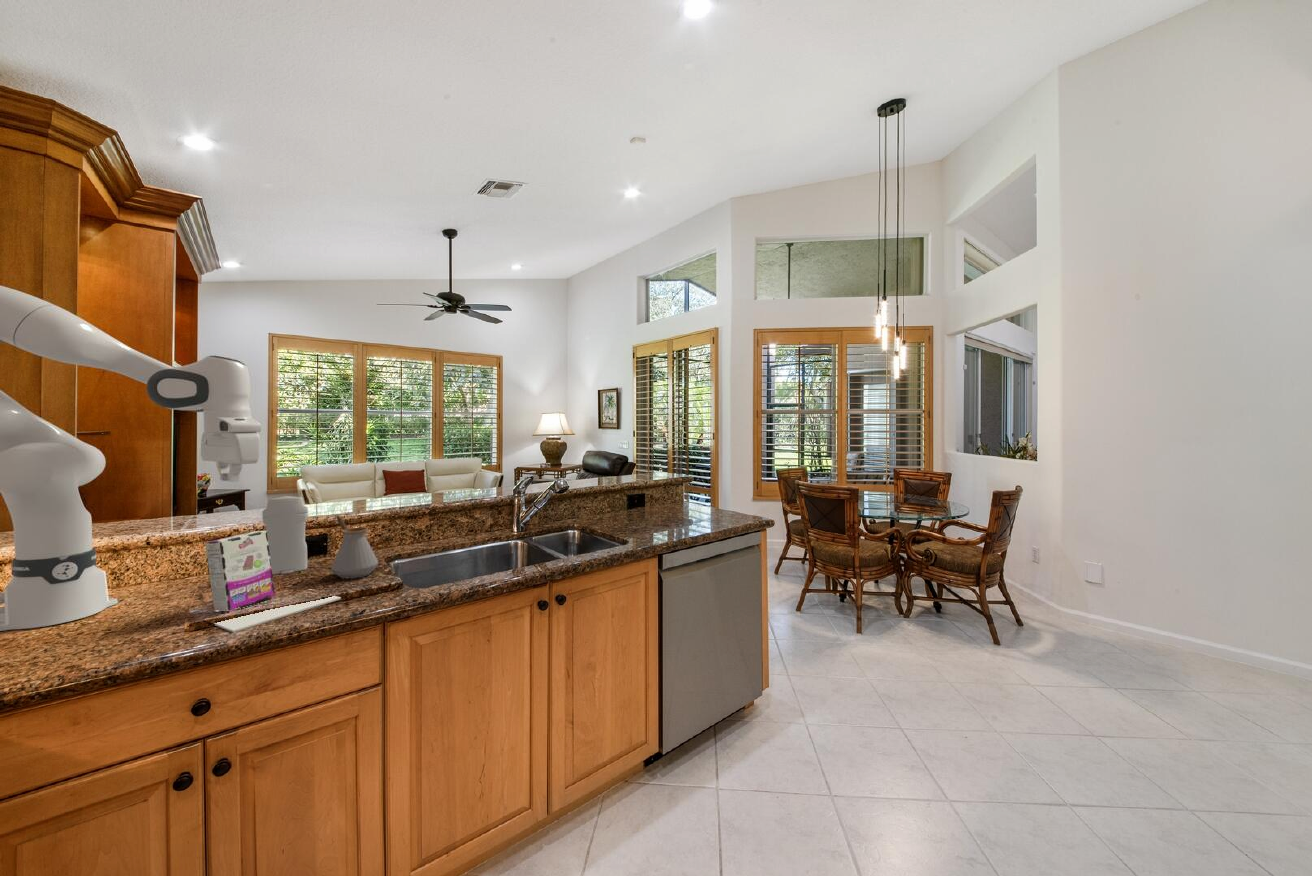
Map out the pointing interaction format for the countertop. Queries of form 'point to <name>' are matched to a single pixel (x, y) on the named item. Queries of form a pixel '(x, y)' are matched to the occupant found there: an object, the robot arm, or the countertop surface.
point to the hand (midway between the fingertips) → (229, 481)
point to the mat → (270, 615)
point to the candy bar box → (240, 570)
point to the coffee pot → (354, 554)
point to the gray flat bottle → (286, 534)
